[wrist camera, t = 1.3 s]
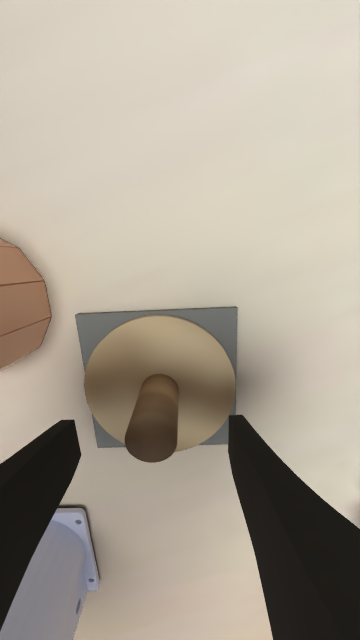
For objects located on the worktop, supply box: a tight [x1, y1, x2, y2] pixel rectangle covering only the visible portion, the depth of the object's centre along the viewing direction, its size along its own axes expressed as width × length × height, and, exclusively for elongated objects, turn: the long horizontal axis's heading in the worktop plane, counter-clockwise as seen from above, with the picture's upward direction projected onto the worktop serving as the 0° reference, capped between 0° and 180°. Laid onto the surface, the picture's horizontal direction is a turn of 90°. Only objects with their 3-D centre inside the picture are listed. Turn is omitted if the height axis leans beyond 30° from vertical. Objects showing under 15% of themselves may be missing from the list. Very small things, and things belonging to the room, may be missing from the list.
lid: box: [84, 315, 236, 462], centre depth 12 cm, size 10×10×5 cm
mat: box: [75, 307, 238, 448], centre depth 15 cm, size 10×10×1 cm
